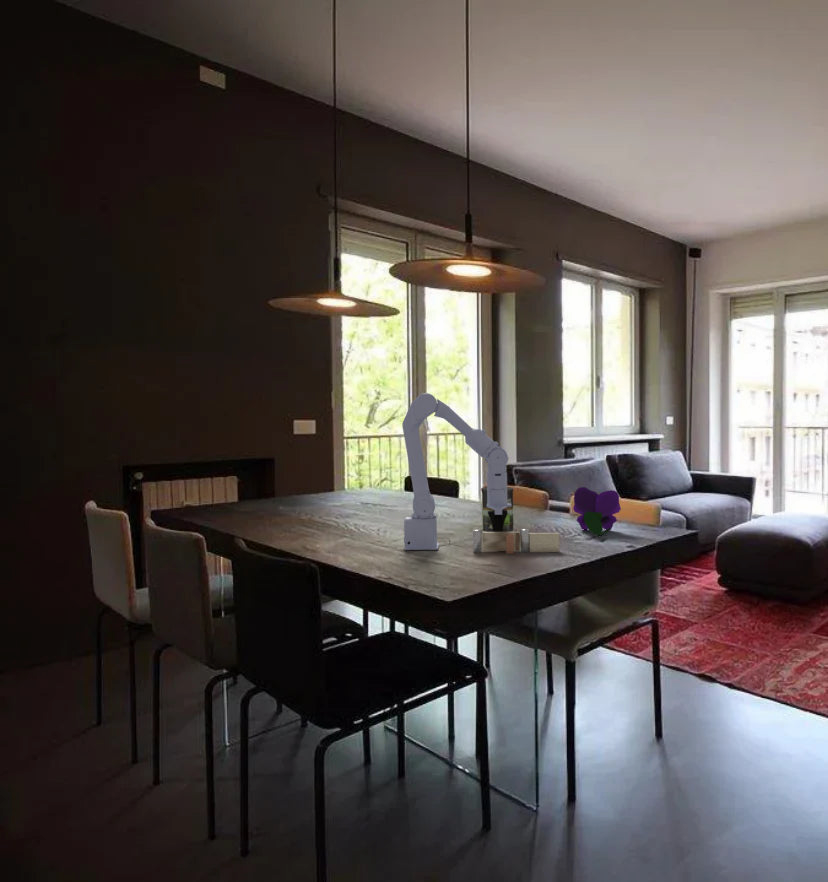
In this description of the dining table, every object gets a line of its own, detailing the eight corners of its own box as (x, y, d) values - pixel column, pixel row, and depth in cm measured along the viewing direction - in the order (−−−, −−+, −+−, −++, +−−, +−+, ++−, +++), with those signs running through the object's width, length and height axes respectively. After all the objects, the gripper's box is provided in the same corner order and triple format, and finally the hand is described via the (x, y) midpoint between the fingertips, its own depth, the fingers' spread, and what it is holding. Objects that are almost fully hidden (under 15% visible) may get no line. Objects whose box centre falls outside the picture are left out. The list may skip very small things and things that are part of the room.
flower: (624, 553, 194) (618, 525, 205) (627, 513, 186) (621, 487, 198) (574, 552, 196) (572, 525, 208) (576, 513, 189) (573, 487, 200)
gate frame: (473, 553, 174) (472, 531, 174) (473, 550, 177) (472, 529, 177) (560, 553, 172) (559, 530, 172) (558, 550, 175) (558, 528, 175)
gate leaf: (482, 550, 175) (482, 532, 175) (482, 549, 177) (482, 531, 177) (519, 550, 174) (519, 532, 174) (519, 549, 176) (519, 531, 176)
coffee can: (518, 533, 201) (518, 489, 201) (487, 535, 199) (486, 490, 199) (507, 528, 211) (506, 485, 211) (477, 530, 209) (476, 487, 209)
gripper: (512, 491, 175) (513, 540, 175) (509, 485, 189) (510, 531, 190) (486, 491, 176) (487, 541, 176) (485, 486, 190) (486, 531, 191)
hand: (497, 536), depth 183 cm, fingers closed
